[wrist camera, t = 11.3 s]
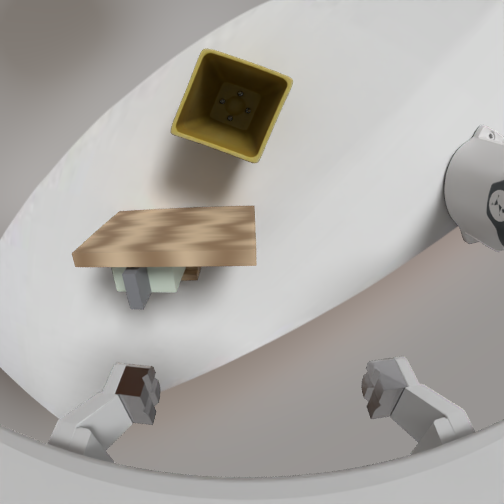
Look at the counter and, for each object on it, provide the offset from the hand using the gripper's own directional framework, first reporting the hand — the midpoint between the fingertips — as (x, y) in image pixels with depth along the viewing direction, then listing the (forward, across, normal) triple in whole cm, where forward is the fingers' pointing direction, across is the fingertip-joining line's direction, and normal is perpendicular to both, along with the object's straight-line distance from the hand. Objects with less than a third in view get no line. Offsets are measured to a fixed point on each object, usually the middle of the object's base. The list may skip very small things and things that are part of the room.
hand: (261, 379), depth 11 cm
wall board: (+29, +9, +6) cm, 31 cm away
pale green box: (+25, +12, +6) cm, 28 cm away
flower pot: (+29, +2, -10) cm, 31 cm away
